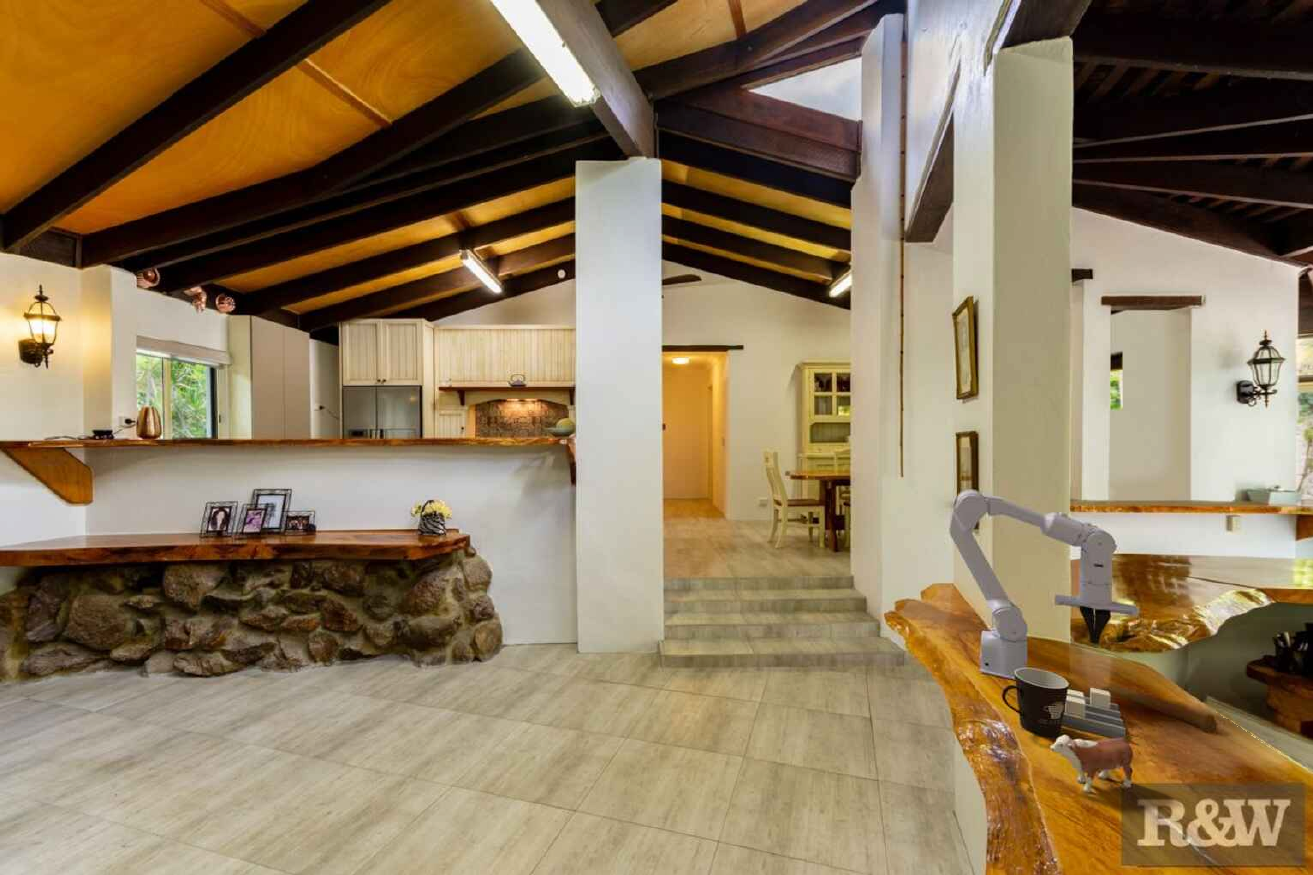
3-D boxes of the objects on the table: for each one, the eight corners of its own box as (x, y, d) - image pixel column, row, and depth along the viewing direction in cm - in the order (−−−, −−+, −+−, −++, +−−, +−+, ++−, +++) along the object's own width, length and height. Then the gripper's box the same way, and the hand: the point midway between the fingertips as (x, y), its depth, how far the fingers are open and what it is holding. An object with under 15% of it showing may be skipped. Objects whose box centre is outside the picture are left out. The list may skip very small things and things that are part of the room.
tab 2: (1065, 717, 108) (1066, 700, 107) (1065, 712, 109) (1065, 695, 109) (1085, 721, 106) (1085, 704, 106) (1084, 716, 108) (1084, 699, 108)
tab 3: (1090, 708, 111) (1091, 691, 111) (1090, 703, 113) (1090, 687, 113) (1110, 712, 109) (1110, 696, 109) (1108, 708, 111) (1109, 691, 111)
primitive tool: (1099, 690, 122) (1099, 674, 122) (1116, 686, 124) (1116, 671, 124) (1207, 737, 104) (1208, 718, 104) (1225, 732, 106) (1226, 714, 106)
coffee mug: (1058, 721, 109) (1058, 671, 108) (1075, 745, 100) (1076, 691, 100) (991, 711, 112) (992, 663, 112) (1002, 733, 104) (1003, 681, 104)
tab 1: (1064, 709, 110) (1065, 692, 110) (1064, 704, 112) (1064, 688, 112) (1083, 713, 109) (1084, 697, 109) (1082, 709, 110) (1083, 692, 110)
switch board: (1058, 724, 107) (1059, 712, 107) (1056, 701, 116) (1056, 690, 116) (1125, 741, 102) (1125, 728, 102) (1117, 715, 111) (1117, 704, 111)
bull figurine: (1044, 778, 91) (1045, 730, 91) (1119, 774, 92) (1120, 726, 92) (1066, 796, 87) (1067, 745, 87) (1144, 791, 88) (1145, 741, 88)
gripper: (1055, 580, 123) (1054, 640, 123) (1141, 591, 114) (1140, 655, 115) (1054, 573, 128) (1053, 630, 129) (1136, 583, 120) (1134, 644, 121)
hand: (1094, 641), depth 122 cm, fingers closed
